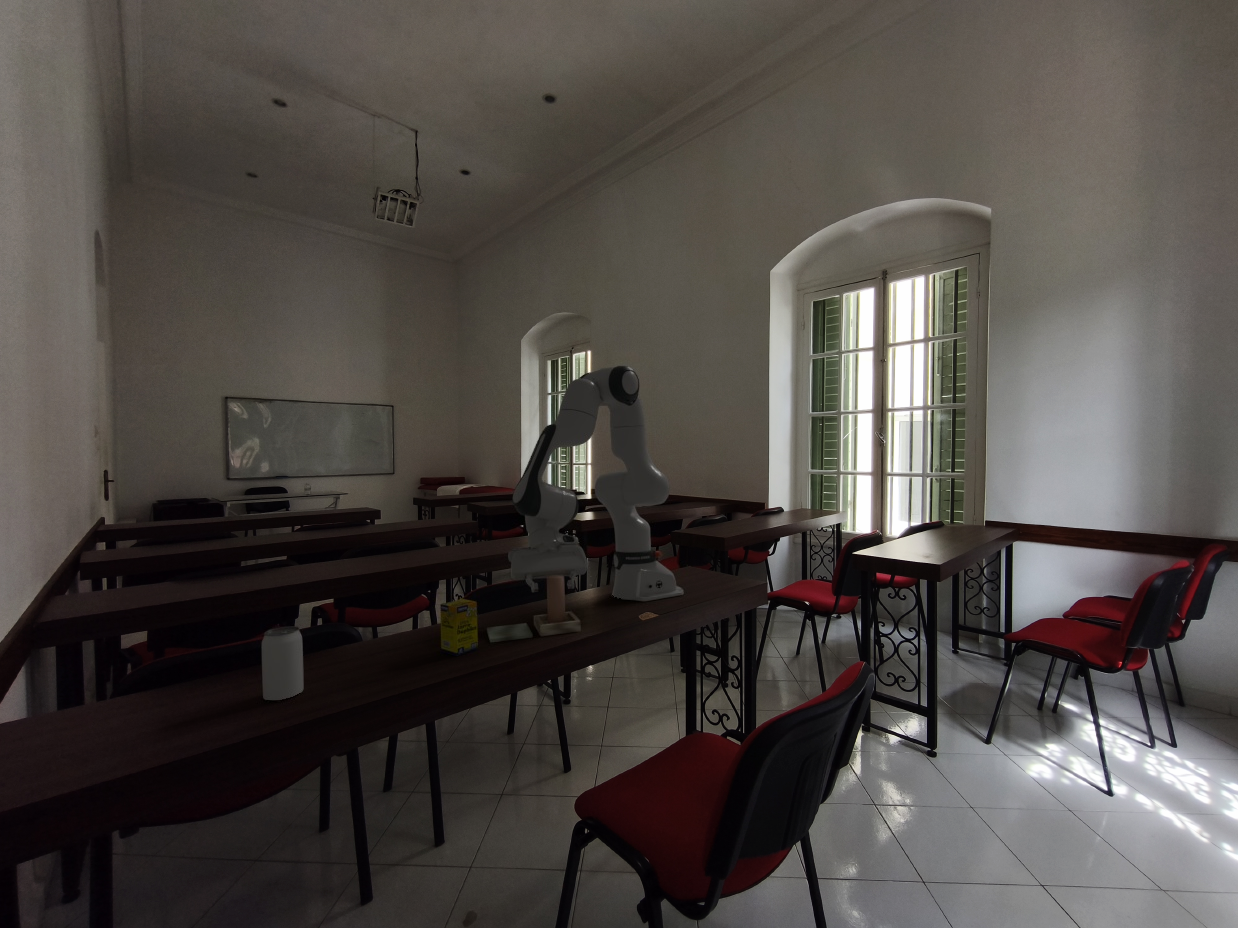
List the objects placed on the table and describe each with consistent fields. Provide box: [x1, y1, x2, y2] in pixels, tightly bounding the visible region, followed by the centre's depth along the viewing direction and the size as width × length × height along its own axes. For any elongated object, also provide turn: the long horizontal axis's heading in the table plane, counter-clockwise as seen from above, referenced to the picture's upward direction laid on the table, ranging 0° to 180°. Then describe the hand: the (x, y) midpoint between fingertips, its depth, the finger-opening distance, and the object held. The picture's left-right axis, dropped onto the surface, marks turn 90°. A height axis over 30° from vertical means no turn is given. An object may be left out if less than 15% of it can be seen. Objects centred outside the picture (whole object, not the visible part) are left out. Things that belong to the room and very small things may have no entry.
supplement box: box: [439, 598, 479, 657], centre depth 125 cm, size 6×6×11 cm
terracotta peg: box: [546, 575, 566, 624], centre depth 140 cm, size 4×4×13 cm
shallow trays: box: [486, 611, 582, 643], centre depth 138 cm, size 22×10×2 cm, turn 108°
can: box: [261, 625, 304, 701], centre depth 102 cm, size 6×6×12 cm
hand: (553, 589), depth 141 cm, fingers open, 8 cm apart
